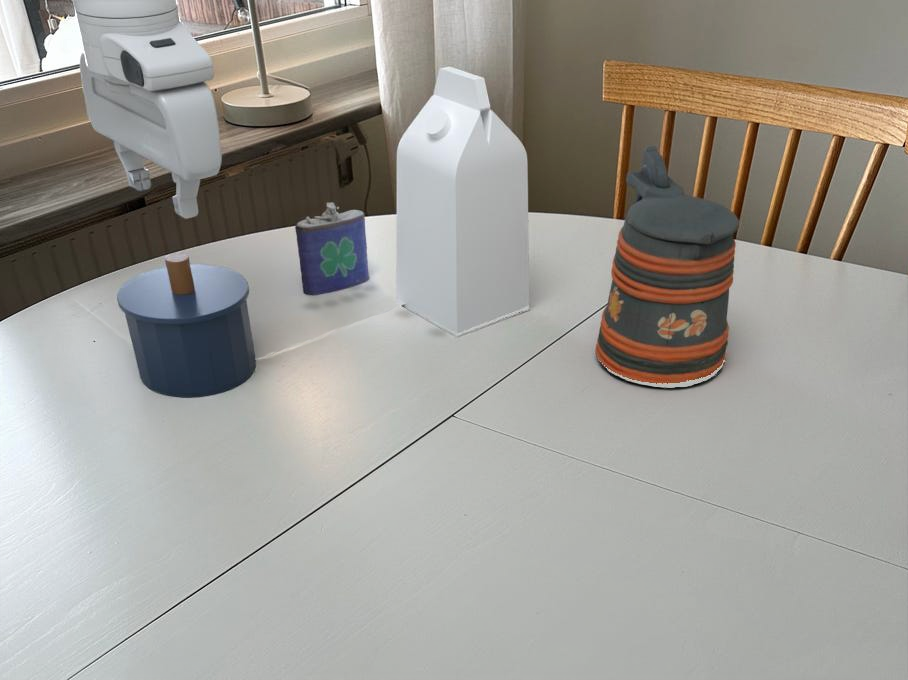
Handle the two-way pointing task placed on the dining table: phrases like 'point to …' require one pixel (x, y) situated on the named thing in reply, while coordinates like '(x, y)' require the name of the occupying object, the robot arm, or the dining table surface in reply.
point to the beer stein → (668, 282)
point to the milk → (461, 209)
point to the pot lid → (182, 292)
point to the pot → (194, 354)
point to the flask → (332, 251)
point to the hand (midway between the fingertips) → (163, 201)
